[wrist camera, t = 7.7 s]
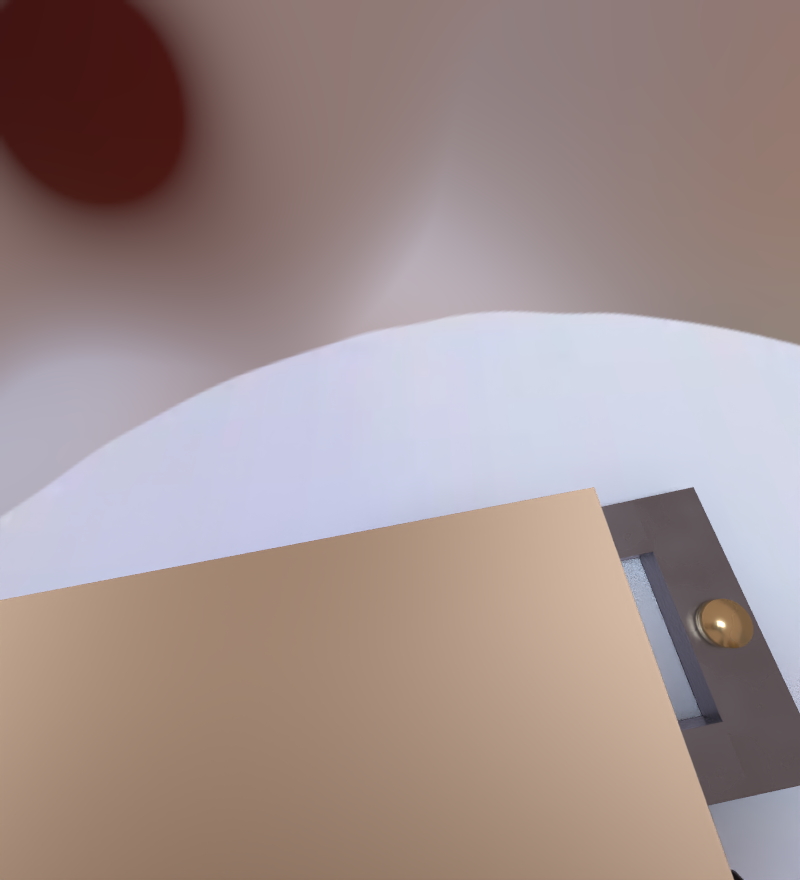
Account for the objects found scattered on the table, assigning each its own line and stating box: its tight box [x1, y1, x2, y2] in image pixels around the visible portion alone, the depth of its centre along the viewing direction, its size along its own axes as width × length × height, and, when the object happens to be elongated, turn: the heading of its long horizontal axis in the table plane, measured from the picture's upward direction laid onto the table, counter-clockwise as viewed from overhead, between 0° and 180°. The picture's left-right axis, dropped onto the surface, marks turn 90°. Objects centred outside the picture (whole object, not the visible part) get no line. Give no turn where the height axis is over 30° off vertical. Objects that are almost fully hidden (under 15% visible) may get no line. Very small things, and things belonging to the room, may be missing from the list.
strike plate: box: [601, 487, 800, 805], centre depth 19 cm, size 24×11×2 cm, turn 101°
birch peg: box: [0, 487, 734, 880], centre depth 8 cm, size 4×4×13 cm
